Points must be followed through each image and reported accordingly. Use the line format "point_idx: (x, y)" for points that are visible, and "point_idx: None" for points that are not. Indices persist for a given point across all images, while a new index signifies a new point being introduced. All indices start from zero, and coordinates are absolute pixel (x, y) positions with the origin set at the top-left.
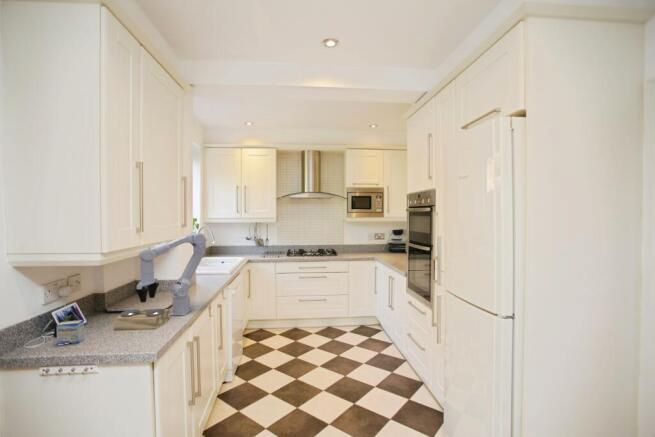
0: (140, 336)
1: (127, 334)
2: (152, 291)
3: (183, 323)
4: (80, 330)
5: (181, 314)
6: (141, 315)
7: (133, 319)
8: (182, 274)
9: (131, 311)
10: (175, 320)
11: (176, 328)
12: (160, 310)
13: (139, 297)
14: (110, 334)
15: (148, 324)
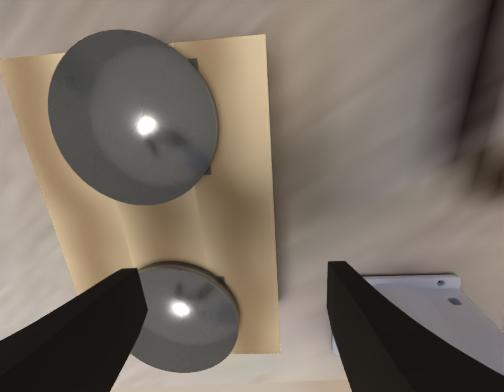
0: (39, 284)
1: (38, 207)
2: (359, 378)
3: (215, 383)
4: None
5: (333, 341)
6: (129, 240)
7: (58, 224)
8: None
9: (153, 123)
10: None
11: (154, 380)
12: (202, 345)
13: (55, 313)
14: (7, 103)
15: None
